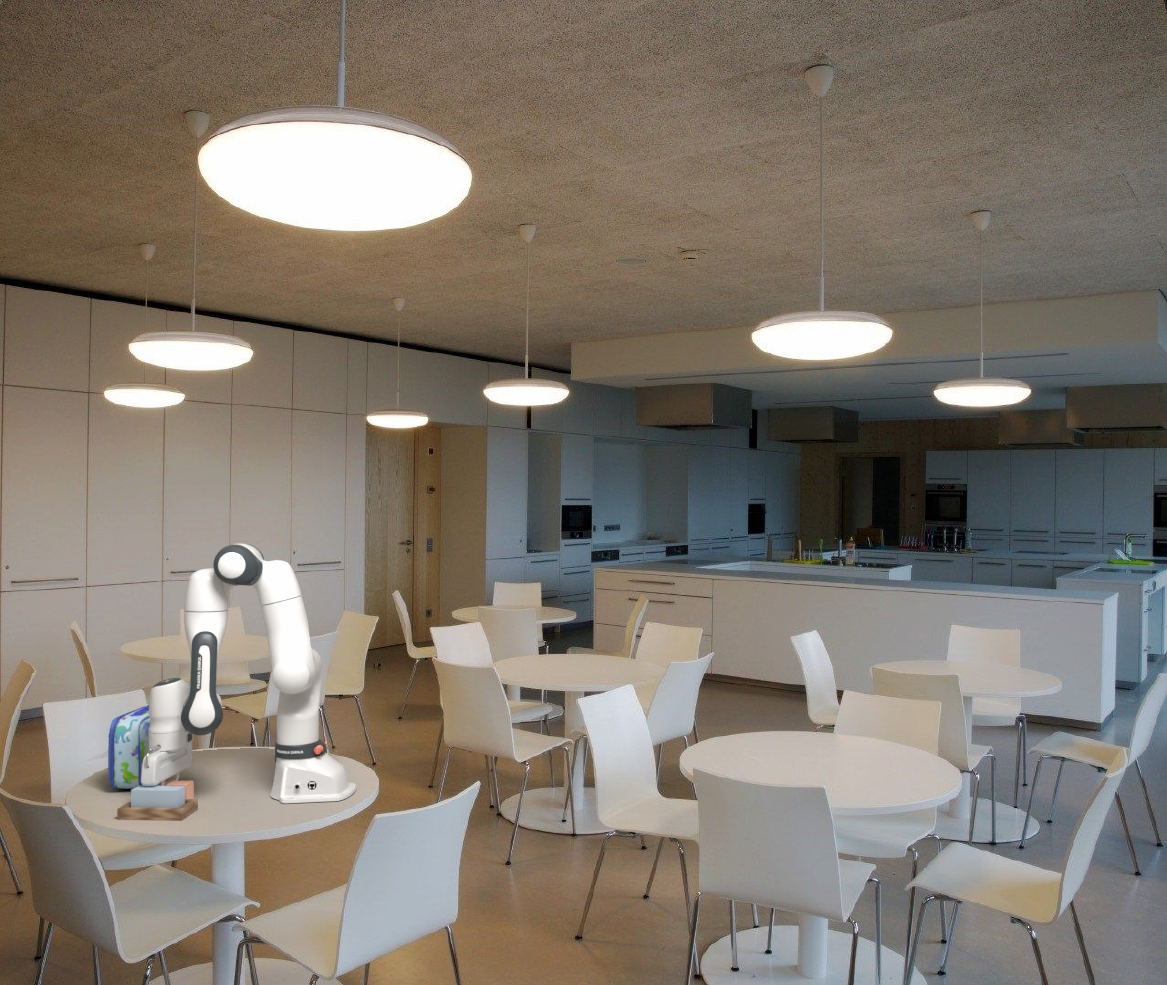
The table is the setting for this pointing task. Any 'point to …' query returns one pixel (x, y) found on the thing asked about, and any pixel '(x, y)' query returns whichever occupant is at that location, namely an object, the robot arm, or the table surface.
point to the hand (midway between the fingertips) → (167, 793)
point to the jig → (157, 812)
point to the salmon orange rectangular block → (188, 787)
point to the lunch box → (128, 748)
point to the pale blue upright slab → (158, 796)
